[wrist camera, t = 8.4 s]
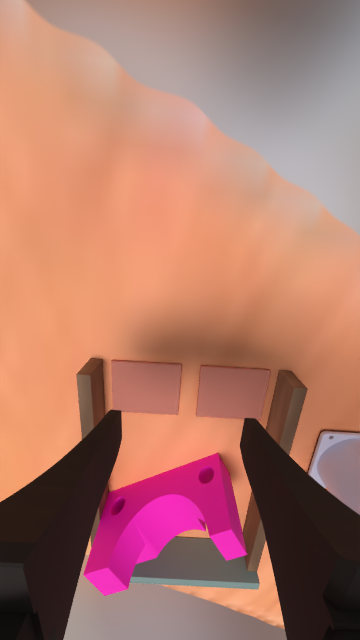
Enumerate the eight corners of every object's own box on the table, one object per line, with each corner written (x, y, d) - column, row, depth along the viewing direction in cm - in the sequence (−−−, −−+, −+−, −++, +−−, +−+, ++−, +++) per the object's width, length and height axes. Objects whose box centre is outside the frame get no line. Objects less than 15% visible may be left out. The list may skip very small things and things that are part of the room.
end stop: (249, 540, 29) (259, 583, 26) (248, 546, 30) (258, 589, 26) (101, 532, 29) (89, 574, 25) (102, 538, 30) (90, 580, 26)
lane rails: (290, 370, 22) (307, 388, 19) (249, 540, 29) (256, 571, 27) (90, 358, 22) (76, 374, 19) (101, 532, 29) (92, 563, 26)
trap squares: (269, 369, 22) (270, 371, 21) (259, 417, 23) (260, 420, 23) (112, 359, 22) (111, 361, 21) (113, 409, 23) (113, 411, 23)
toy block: (133, 520, 29) (117, 608, 22) (109, 490, 27) (83, 574, 20) (236, 486, 27) (257, 570, 20) (217, 451, 25) (231, 529, 18)
